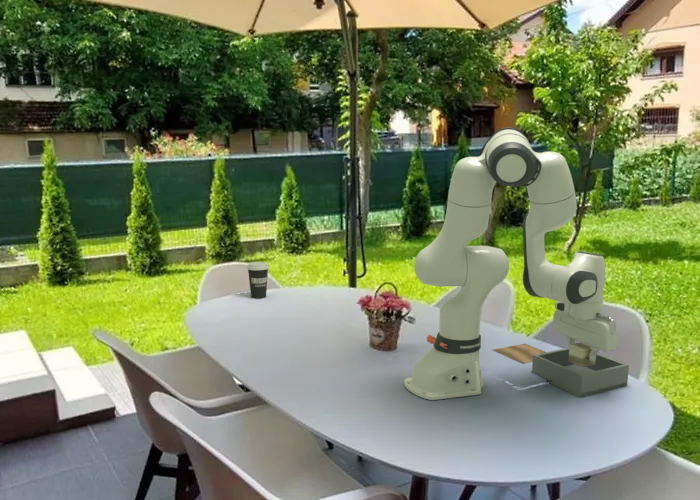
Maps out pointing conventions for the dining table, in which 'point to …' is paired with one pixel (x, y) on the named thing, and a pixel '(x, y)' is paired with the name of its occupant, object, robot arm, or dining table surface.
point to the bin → (580, 373)
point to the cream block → (580, 354)
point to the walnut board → (520, 352)
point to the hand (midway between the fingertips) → (581, 356)
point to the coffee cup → (258, 279)
